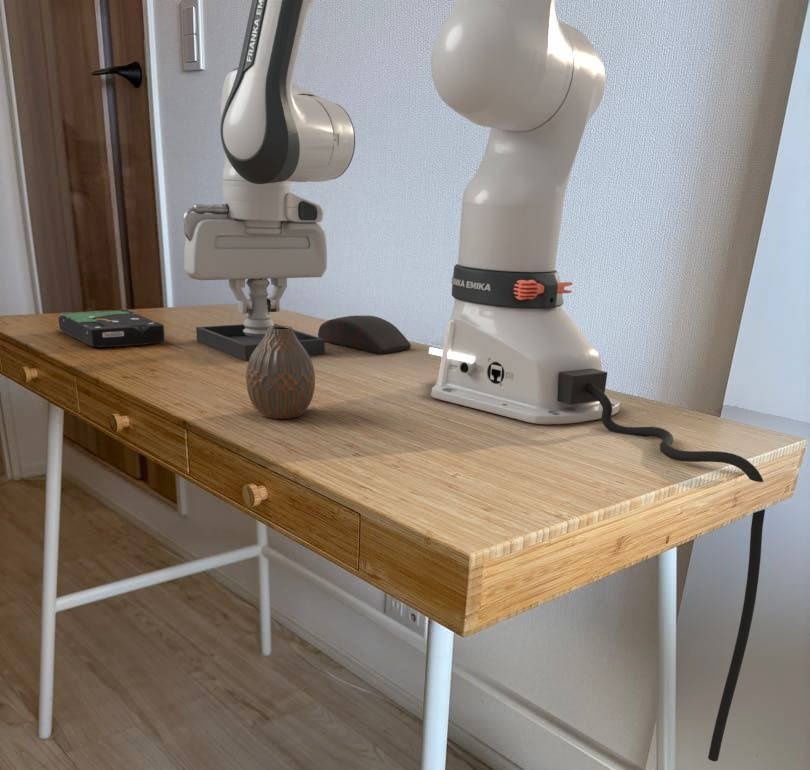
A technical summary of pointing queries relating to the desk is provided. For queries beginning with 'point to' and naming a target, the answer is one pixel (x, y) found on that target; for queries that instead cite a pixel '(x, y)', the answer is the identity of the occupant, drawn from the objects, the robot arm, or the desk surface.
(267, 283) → the rook chess piece
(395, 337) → the computer mouse
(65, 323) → the disk drive
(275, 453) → the desk surface
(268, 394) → the vase
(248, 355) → the tray
